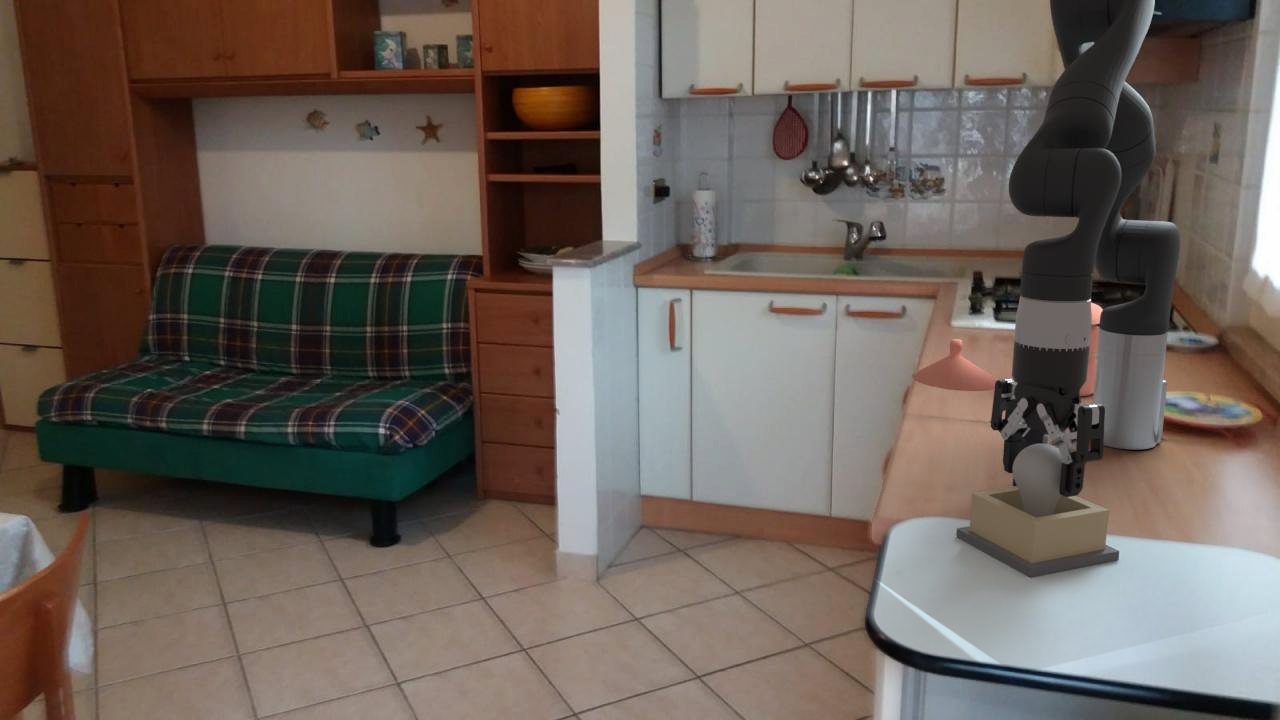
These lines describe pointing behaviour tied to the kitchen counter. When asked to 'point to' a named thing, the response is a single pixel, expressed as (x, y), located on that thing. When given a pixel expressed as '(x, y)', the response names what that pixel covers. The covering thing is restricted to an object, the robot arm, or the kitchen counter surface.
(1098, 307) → the ceramic vessels
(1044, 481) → the lightbulb
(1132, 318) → the robot arm
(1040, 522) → the bulb holder
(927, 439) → the kitchen counter surface
